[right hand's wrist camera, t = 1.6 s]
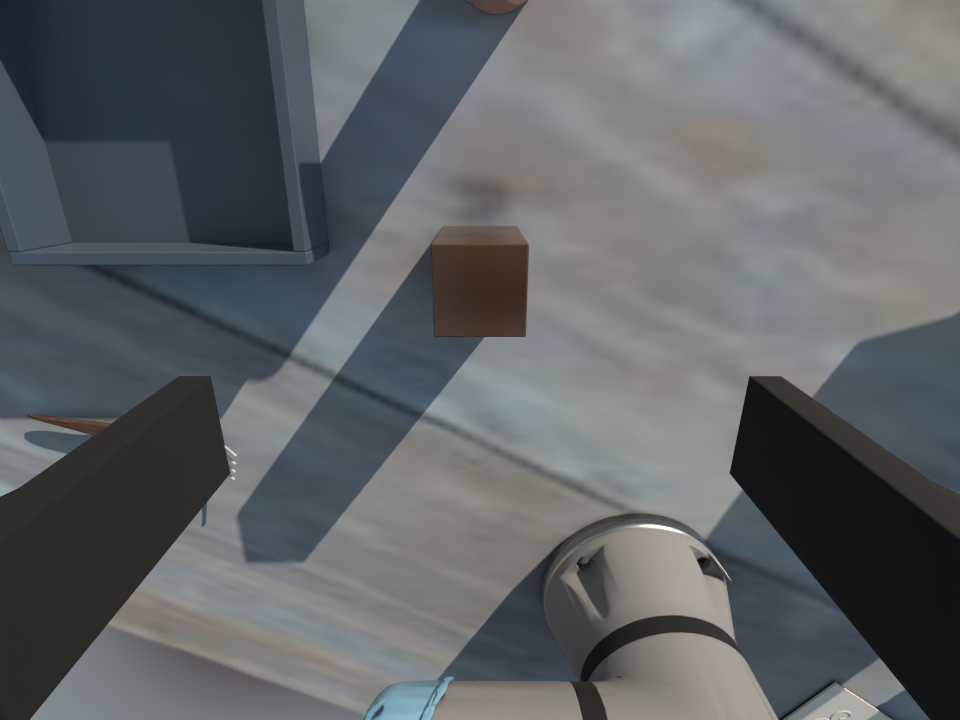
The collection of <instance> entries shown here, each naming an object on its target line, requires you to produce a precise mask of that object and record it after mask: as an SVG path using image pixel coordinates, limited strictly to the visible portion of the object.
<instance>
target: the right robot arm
mask: <svg viewBox="0 0 960 720" xmlns="http://www.w3.org/2000/svg"><path fill="white" fill-rule="evenodd" d="M229 474H230V469H229V465H228V460H227V455H226V450H225V445H224V440H223V435H222V430H221V425H220V420H219V415H218V410H217V406H216V401H215V396H214V391H213V386H212V381H211V376H179V377H177V378H176V379H175V380H173V381H172V382H170V383H169V384H167V385H166V386H165V387H163V388H162V389H160V390H159V391H157V392H156V393H155V394H153V395H152V396H150V397H149V398H147V399H146V400H145V401H143V402H142V403H140V404H139V405H137V406H136V407H134V408H133V409H132V410H130V411H129V412H127V413H126V414H124V415H123V416H122V417H120V418H119V419H117V420H116V421H114V422H113V423H112V424H110V425H109V426H107V427H106V428H104V429H103V430H101V431H100V432H99V433H97V434H96V435H94V436H93V437H91V438H90V439H89V440H87V441H86V442H84V443H83V444H81V445H80V446H79V447H77V448H76V449H74V450H73V451H71V452H70V453H69V454H67V455H66V456H64V457H63V458H61V459H60V460H58V461H57V462H56V463H54V464H53V465H51V466H50V467H48V468H47V469H46V470H44V471H43V472H41V473H40V474H38V475H37V476H36V477H34V478H33V479H31V480H30V481H28V482H27V483H26V484H24V485H23V486H21V487H20V488H18V489H16V490H14V491H12V492H9V493H7V494H5V495H3V496H1V497H0V720H30V719H31V717H32V716H33V715H34V714H35V712H36V711H37V710H38V709H39V707H40V706H41V705H42V704H43V703H44V701H45V700H46V699H47V698H48V696H49V695H50V694H51V693H52V692H53V690H54V689H55V688H56V687H57V685H58V684H59V683H60V682H61V680H62V679H63V678H64V677H65V676H66V674H67V673H68V672H69V671H70V669H71V668H72V667H73V666H74V665H75V663H76V662H77V661H78V660H79V658H80V657H81V656H82V655H83V653H84V652H85V651H86V650H87V649H88V647H89V646H90V645H91V644H92V642H93V641H94V640H95V639H96V638H97V636H98V635H99V634H100V633H101V631H102V630H103V629H104V628H105V626H106V625H107V624H108V623H109V622H110V620H111V619H112V618H113V617H114V615H115V614H116V613H117V612H118V611H119V609H120V608H121V607H122V606H123V604H124V603H125V602H126V601H127V599H128V598H129V597H130V596H131V595H132V593H133V592H134V591H135V590H136V588H137V587H138V586H139V585H140V583H141V582H142V581H143V580H144V579H145V577H146V576H147V575H148V574H149V572H150V571H151V570H152V569H153V568H154V566H155V565H156V564H157V563H158V561H159V560H160V559H161V558H162V556H163V555H164V554H165V553H166V552H167V550H168V549H169V548H170V547H171V545H172V544H173V543H174V542H175V541H176V539H177V538H178V537H179V536H180V534H181V533H182V532H183V531H184V529H185V528H186V527H187V526H188V525H189V523H190V522H191V521H192V520H193V518H194V517H195V516H196V515H197V513H198V512H199V511H200V510H201V509H202V507H203V506H204V505H205V504H206V502H207V501H208V500H209V499H210V498H211V496H212V495H213V494H214V493H215V491H216V490H217V489H218V488H219V486H220V485H221V484H222V483H223V482H224V480H225V479H226V478H227V477H228V475H229ZM730 474H731V475H732V477H733V478H734V479H735V480H736V482H737V483H738V484H739V485H740V486H741V488H742V489H743V490H744V491H745V493H746V494H747V495H748V496H749V498H750V499H751V500H752V501H753V502H754V504H755V505H756V506H757V507H758V509H759V510H760V511H761V512H762V513H763V515H764V516H765V517H766V518H767V520H768V521H769V522H770V523H771V525H772V526H773V527H774V528H775V529H776V531H777V532H778V533H779V534H780V536H781V537H782V538H783V539H784V541H785V542H786V543H787V544H788V545H789V547H790V548H791V549H792V550H793V552H794V553H795V554H796V555H797V556H798V558H799V559H800V560H801V561H802V563H803V564H804V565H805V566H806V568H807V569H808V570H809V571H810V572H811V574H812V575H813V576H814V577H815V579H816V580H817V581H818V582H819V583H820V585H821V586H822V587H823V588H824V590H825V591H826V592H827V593H828V595H829V596H830V597H831V598H832V599H833V601H834V602H835V603H836V604H837V606H838V607H839V608H840V609H841V611H842V612H843V613H844V614H845V615H846V617H847V618H848V619H849V620H850V622H851V623H852V624H853V625H854V626H855V628H856V629H857V630H858V631H859V633H860V634H861V635H862V636H863V638H864V639H865V640H866V641H867V642H868V644H869V645H870V646H871V647H872V649H873V650H874V651H875V652H876V654H877V655H878V656H879V657H880V658H881V660H882V661H883V662H884V663H885V665H886V666H887V667H888V668H889V669H890V671H891V672H892V673H893V674H894V676H895V677H896V678H897V679H898V681H899V682H900V683H901V684H902V685H903V687H904V688H905V689H906V690H907V692H908V693H909V694H910V695H911V697H912V698H913V699H914V700H915V701H916V703H917V704H918V705H919V706H920V708H921V709H922V710H923V711H924V712H925V714H926V715H927V716H928V717H929V719H930V720H960V494H958V493H955V492H953V491H951V490H949V489H947V488H945V487H943V486H940V485H938V484H936V483H934V482H932V481H930V480H929V479H927V478H926V477H924V476H923V475H922V474H920V473H919V472H917V471H916V470H914V469H913V468H912V467H910V466H909V465H907V464H906V463H904V462H903V461H902V460H900V459H899V458H897V457H896V456H894V455H893V454H891V453H890V452H889V451H887V450H886V449H884V448H883V447H881V446H880V445H879V444H877V443H876V442H874V441H873V440H871V439H870V438H869V437H867V436H866V435H864V434H863V433H861V432H860V431H859V430H857V429H856V428H854V427H853V426H851V425H850V424H848V423H847V422H846V421H844V420H843V419H841V418H840V417H838V416H837V415H836V414H834V413H833V412H831V411H830V410H828V409H827V408H826V407H824V406H823V405H821V404H820V403H818V402H817V401H815V400H814V399H813V398H811V397H810V396H808V395H807V394H805V393H804V392H803V391H801V390H800V389H798V388H797V387H795V386H794V385H793V384H791V383H790V382H788V381H787V380H785V379H784V378H783V377H781V376H749V381H748V386H747V391H746V396H745V401H744V406H743V410H742V415H741V420H740V425H739V430H738V435H737V440H736V445H735V450H734V455H733V460H732V465H731V469H730ZM722 569H723V568H722V566H721V565H720V563H719V562H718V560H717V559H716V557H715V555H714V554H713V552H712V551H711V549H710V547H709V546H708V544H707V543H706V542H705V540H704V539H703V538H702V537H701V536H700V535H699V534H697V533H696V532H695V531H694V530H692V529H691V528H689V527H688V526H686V525H684V524H682V523H680V522H678V521H676V520H673V519H670V518H667V517H663V516H658V515H651V514H626V515H619V516H614V517H609V518H606V519H602V520H600V521H597V522H594V523H592V524H590V525H588V526H586V527H584V528H582V529H581V530H579V531H577V532H576V533H574V534H573V535H572V536H570V537H569V538H568V539H567V540H566V541H564V542H563V543H562V544H561V546H560V547H559V548H558V549H557V550H556V551H555V553H554V554H553V556H552V557H551V559H550V560H549V562H548V564H547V566H546V569H545V572H544V575H543V579H542V599H543V606H544V612H545V617H546V621H547V624H548V626H549V628H550V630H551V632H552V634H553V636H554V637H555V639H556V641H557V643H558V644H559V646H560V648H561V650H562V652H563V653H564V655H565V657H566V659H567V660H568V662H569V664H570V666H571V667H572V669H573V671H574V673H575V674H576V676H577V678H578V680H579V682H570V681H455V679H454V677H453V676H447V677H445V678H444V679H443V680H434V681H415V682H400V683H396V684H393V685H391V686H389V687H387V688H386V689H384V690H383V691H382V692H381V693H380V694H379V695H378V696H377V697H376V698H375V700H374V701H373V702H372V704H371V706H370V707H369V709H368V711H367V712H366V714H365V717H364V719H363V720H778V718H777V716H776V714H775V713H774V711H773V709H772V707H771V705H770V704H769V702H768V700H767V698H766V696H765V694H764V693H763V691H762V689H761V687H760V685H759V684H758V682H757V680H756V678H755V676H754V675H753V673H752V671H751V669H750V667H749V665H748V664H747V662H746V660H745V658H744V656H743V655H742V653H741V651H740V649H739V647H738V645H737V643H736V641H735V636H734V629H733V623H732V617H731V611H730V604H729V598H728V592H727V586H726V580H725V576H724V573H723V571H724V572H725V570H724V569H723V570H722ZM725 573H726V572H725ZM726 575H727V573H726ZM727 576H728V575H727ZM728 577H729V576H728ZM729 579H730V578H729Z"/></svg>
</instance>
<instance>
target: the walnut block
mask: <svg viewBox="0 0 960 720" xmlns="http://www.w3.org/2000/svg"><path fill="white" fill-rule="evenodd" d="M431 255H432V285H433V315H434V336H435V337H525V336H526V315H527V285H528V255H529V245H528V243H527V241H526V240H525V238H524V237H523V235H522V233H521V232H520V230H519V229H518V227H517V226H443V227H442V229H441V230H440V232H439V233H438V235H437V237H436V238H435V240H434V241H433V243H432V245H431Z"/></svg>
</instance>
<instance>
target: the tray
mask: <svg viewBox="0 0 960 720" xmlns="http://www.w3.org/2000/svg"><path fill="white" fill-rule="evenodd" d="M0 228H1V231H2V234H3V237H4V240H5V243H6V246H7V250H8V251H9V255H10V258H11V261H12V264H13V265H309V264H311V263H312V262H314V261H316V260H318V259H320V258H321V257H323V256H325V255H327V254H329V244H328V235H327V225H326V215H325V206H324V196H323V186H322V176H321V167H320V157H319V147H318V138H317V128H316V118H315V108H314V99H313V89H312V79H311V70H310V60H309V50H308V40H307V31H306V21H305V11H304V2H303V0H0Z"/></svg>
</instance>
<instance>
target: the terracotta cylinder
mask: <svg viewBox="0 0 960 720" xmlns="http://www.w3.org/2000/svg"><path fill="white" fill-rule="evenodd" d="M468 1H469V2H470V3H471V4H472V5H473V6H474V7H476V8H477V9H479V10H481V11H483V12H486V13H490V14H505V13H509V12H511V11H514V10H515V9H517V8H519V7H520V6H521V5H523V4H524V3H525V2H526V1H527V0H468Z"/></svg>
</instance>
